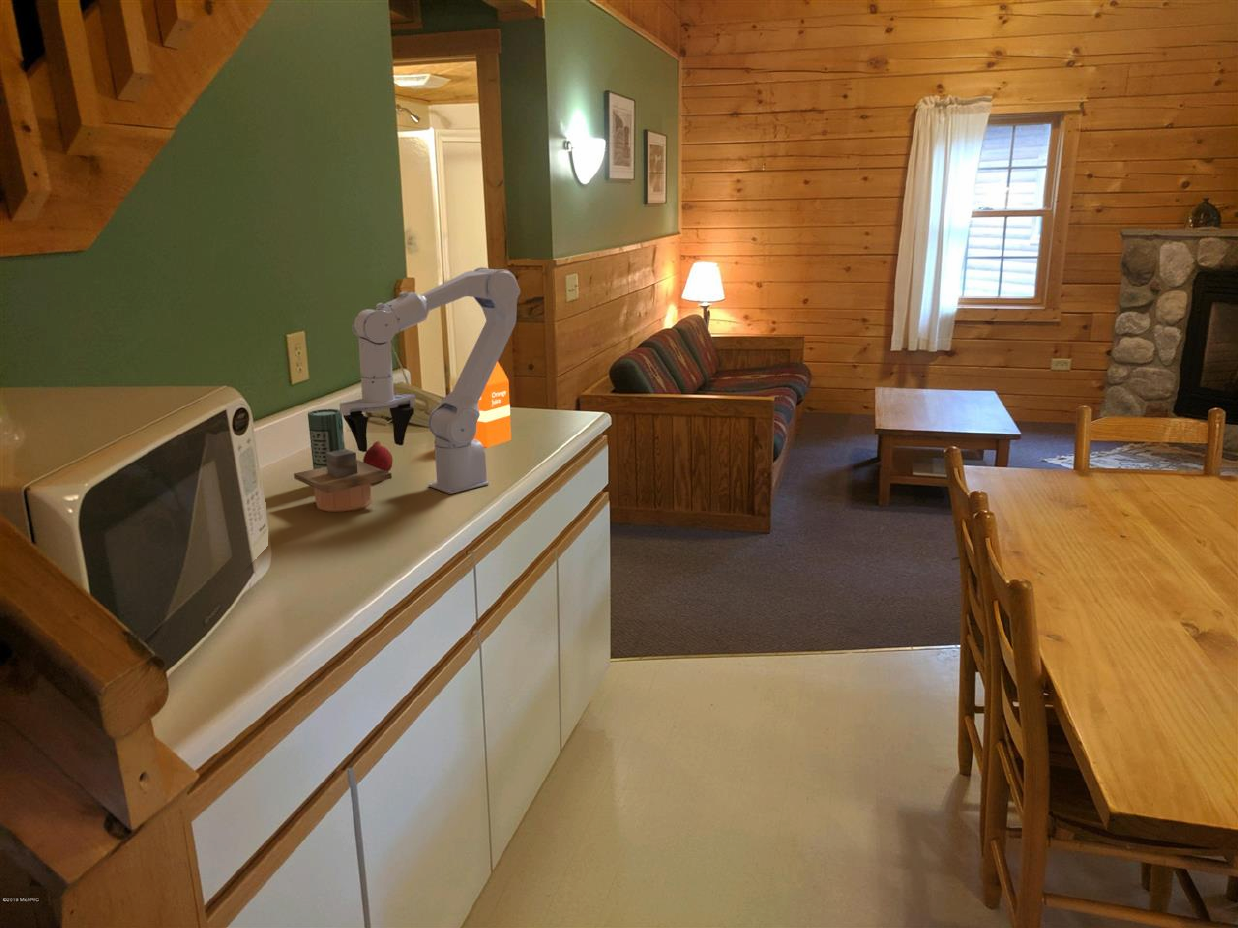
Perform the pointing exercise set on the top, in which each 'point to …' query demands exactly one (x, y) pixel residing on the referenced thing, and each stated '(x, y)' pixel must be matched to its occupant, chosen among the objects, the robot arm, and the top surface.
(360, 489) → the pot
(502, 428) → the orange juice
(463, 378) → the robot arm
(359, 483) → the lid
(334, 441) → the can
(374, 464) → the onion
